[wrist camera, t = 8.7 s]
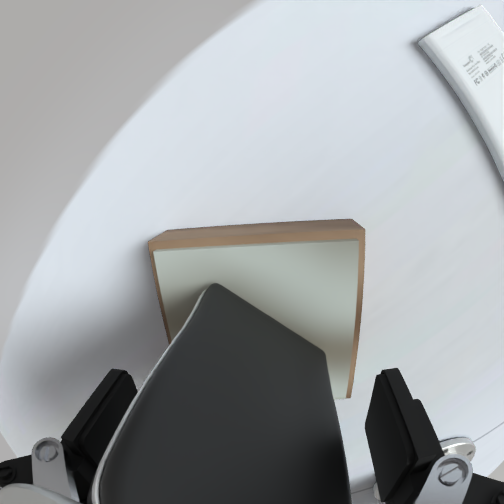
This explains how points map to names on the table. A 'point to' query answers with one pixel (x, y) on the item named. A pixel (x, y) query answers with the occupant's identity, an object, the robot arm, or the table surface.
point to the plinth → (273, 280)
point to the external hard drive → (474, 71)
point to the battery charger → (229, 418)
